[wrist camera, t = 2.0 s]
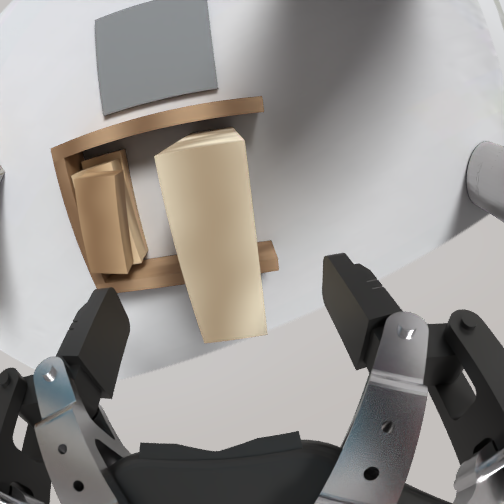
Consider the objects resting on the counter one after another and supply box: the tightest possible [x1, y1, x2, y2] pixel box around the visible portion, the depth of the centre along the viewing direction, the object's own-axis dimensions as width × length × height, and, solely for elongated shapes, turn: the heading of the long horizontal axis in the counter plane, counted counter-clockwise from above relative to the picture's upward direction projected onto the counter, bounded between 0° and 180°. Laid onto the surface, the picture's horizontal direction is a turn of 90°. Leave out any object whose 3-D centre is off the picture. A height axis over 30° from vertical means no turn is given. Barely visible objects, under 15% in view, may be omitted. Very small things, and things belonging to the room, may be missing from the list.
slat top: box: [74, 170, 134, 274], centre depth 19 cm, size 4×8×2 cm, turn 177°
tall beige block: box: [154, 127, 267, 343], centre depth 18 cm, size 4×10×13 cm, turn 7°
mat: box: [95, 0, 218, 116], centre depth 17 cm, size 10×10×1 cm
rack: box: [51, 96, 279, 293], centre depth 22 cm, size 17×14×4 cm
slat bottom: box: [81, 149, 148, 256], centre depth 23 cm, size 4×10×2 cm, turn 5°
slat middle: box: [71, 158, 146, 264], centre depth 21 cm, size 4×9×2 cm, turn 8°
